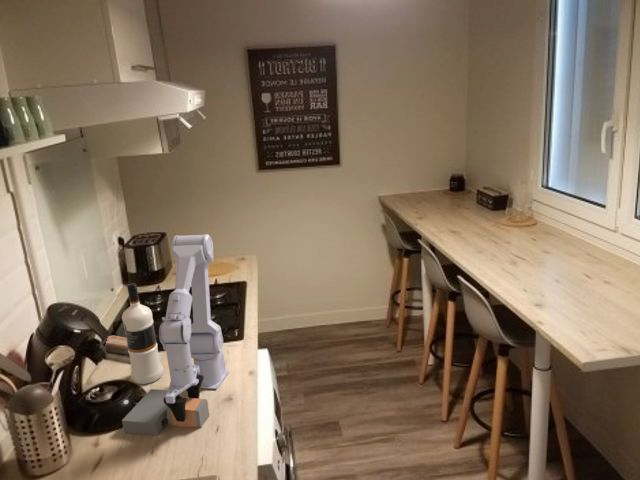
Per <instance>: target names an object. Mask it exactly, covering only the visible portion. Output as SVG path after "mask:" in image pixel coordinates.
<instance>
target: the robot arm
mask: <svg viewBox="0 0 640 480" xmlns="http://www.w3.org/2000/svg"><path fill="white" fill-rule="evenodd" d="M171 253H172V255H173V258H174V260H175V262H176V268H175V269H176V272H175V282H174V283H175V285H174V290H173V291H172V292H171V293H170V294H169V296H168V302H167V308H166V311H165V312H166V313H165V319H164V321H162V322H161V323H160V326H159V329H158V330H159V331H158V333H159V334H158V335H159V336H158V337H159V342H160V343H161V345H162V349H163V351H165V352H166V359H167V365H168V366H167V367H168V371H169V376H170V383H169V386H168V393H167V395H166V396H165V398H164V399H163V400H164V403H165V404H166V405H167V406H168V407H169V408H170V410H171V411H172V413H173V415H174V417H175V419H176V421H180V422H184V421H185V417H186V416H185V405H186V401H187V398H197V399H200V394H201V393H200V392H201V389H204V390H205V389H207V390H208V389H209V390H217V389H218V388H219V387H220V385H221V384H222V383H223V381H224V380H225V379H226V377H227V376H228V374H229V373H230V371H229V370H227V368H226V361H225V354H224V352H223V347H224V337H223V333H222V328H221V326H220V325H219V324H217V323H216V322H214V321H213V320H212V319H211V317H212V316H211V302H210V300H211V299H210V281H209V280H210V279H209V276H210V275H209V264H212V263H214V258H215V257H214V256H215V255H214V243H213V240H212V237H211V236H210V234H207V233H205V234H192V235H191V234H190V235H178V234H177V235H175V236H174V237H173V238H172V240H171ZM190 289H191V293H190ZM191 310H192V319H193V320H192V319H191V318H190V317H191ZM192 321H193V322H192ZM192 359H193V360H192ZM185 391H186V394H187V397H185V398H182V397H183V396H182V395H181V396H182V397H181V396H180V393H181V394H182V393H183V392H185Z"/></svg>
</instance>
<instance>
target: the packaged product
mask: <svg viewBox="0 0 640 480" xmlns="http://www.w3.org/2000/svg"><path fill="white" fill-rule="evenodd" d="M107 337H108V338H107V341H106V344H105V348H106V352H107V355H106V358H105V359H106V360H107V359H108V360H113V361H117V362H123V363H129V364H131V361H130V356H129V353H128V345H127V340H126V336H125V337H124V336H118V335H108V336H107Z"/></svg>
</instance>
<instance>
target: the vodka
mask: <svg viewBox="0 0 640 480" xmlns="http://www.w3.org/2000/svg"><path fill="white" fill-rule="evenodd" d="M126 288H127V293H128V297H129V298H128V299H129V305H130V306H128V307H127V308H126V309H124V311H123V313H122V315H121V320H122V323H123V324H122V325H123V328H124V335H125V338H126V340H127V345H128V353H129V356H130V361H131V363H130V370H131V371H130V378H131V380H132V382H133V383H135V384H139V385H147V384H151V383H154V382H156V381H158V380H159V379H160V378H162V376H163V375H164V365H162V362H161V360H160V358H161V357H160V355H159V350H158V347H159V346H158V342H157V337H156V333H155V326H154V319H153V312H152V310H151V309H150V307H148V306H146V305H144V304H141V303H140V299H139V291H138V287H137V283H134V282H133V283H132V282H131V283H128V284H127V285H126Z"/></svg>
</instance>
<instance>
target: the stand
mask: <svg viewBox="0 0 640 480" xmlns="http://www.w3.org/2000/svg"><path fill="white" fill-rule="evenodd" d="M167 393H168V390H166V389H165V390H164V389H152V388H151V389H149V391H148V392H147V393H145V395H144V396H143V397H142V398H141V399H140V401H138V403H136V405H134V407H133V408H132V409H131V410H130V411H129V412H128V413H127V414H126V415H125V417H123V419H121V423H122V428H123V432H124V433H128V434H137V435H138V434H140V435H146V436H157V435H158V434H159V433H160V432H161V431H162V429H163V423H162V421H163V420H164V418H165V417H167V411H166V407H167V405H166V404H165V403H164V400H163V399H164V398H165V396H166V395H167ZM180 396H181V397H183V395H182V393H180Z"/></svg>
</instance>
